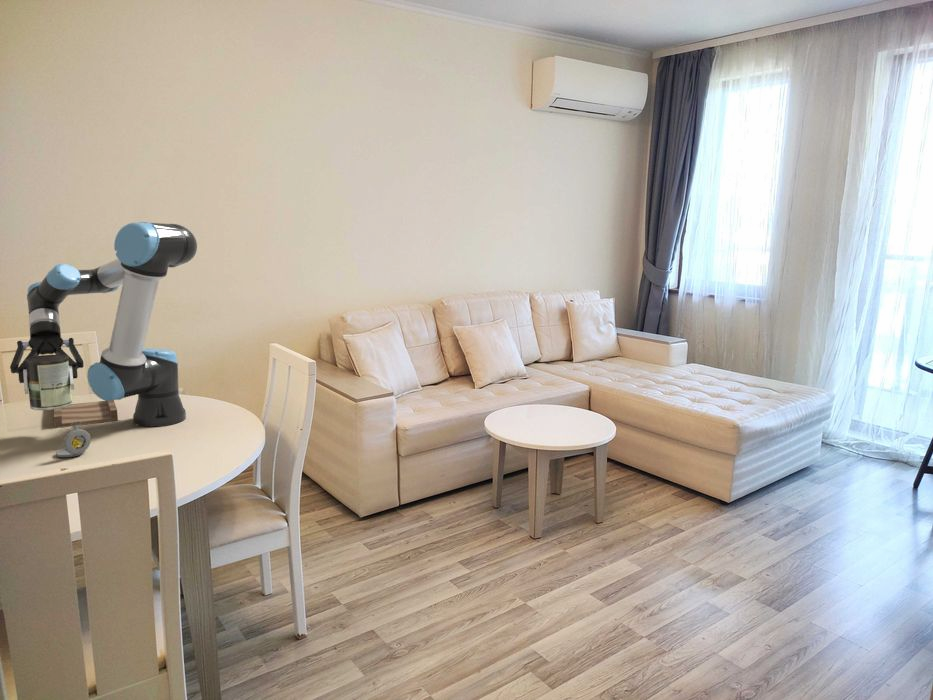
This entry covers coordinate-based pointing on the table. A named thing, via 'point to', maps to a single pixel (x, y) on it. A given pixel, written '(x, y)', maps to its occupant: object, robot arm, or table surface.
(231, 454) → the table surface
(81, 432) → the pocket watch
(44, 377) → the coffee can
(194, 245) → the robot arm
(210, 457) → the table surface
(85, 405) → the cradle
